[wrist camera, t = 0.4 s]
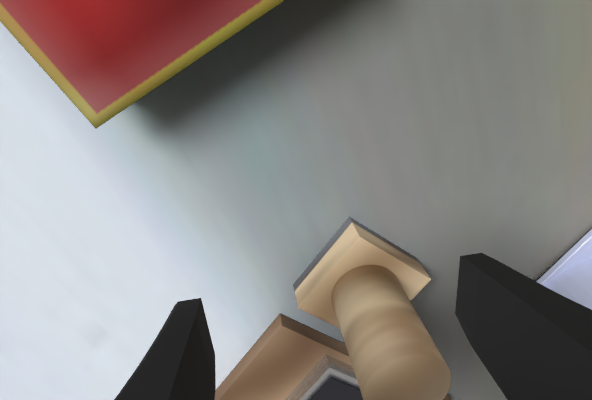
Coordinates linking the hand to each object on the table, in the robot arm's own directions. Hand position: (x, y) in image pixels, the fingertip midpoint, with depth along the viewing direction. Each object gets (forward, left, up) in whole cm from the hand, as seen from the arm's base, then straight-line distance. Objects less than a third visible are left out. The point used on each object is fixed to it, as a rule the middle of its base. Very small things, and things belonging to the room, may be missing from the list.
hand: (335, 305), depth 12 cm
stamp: (-7, +3, -10) cm, 13 cm away
